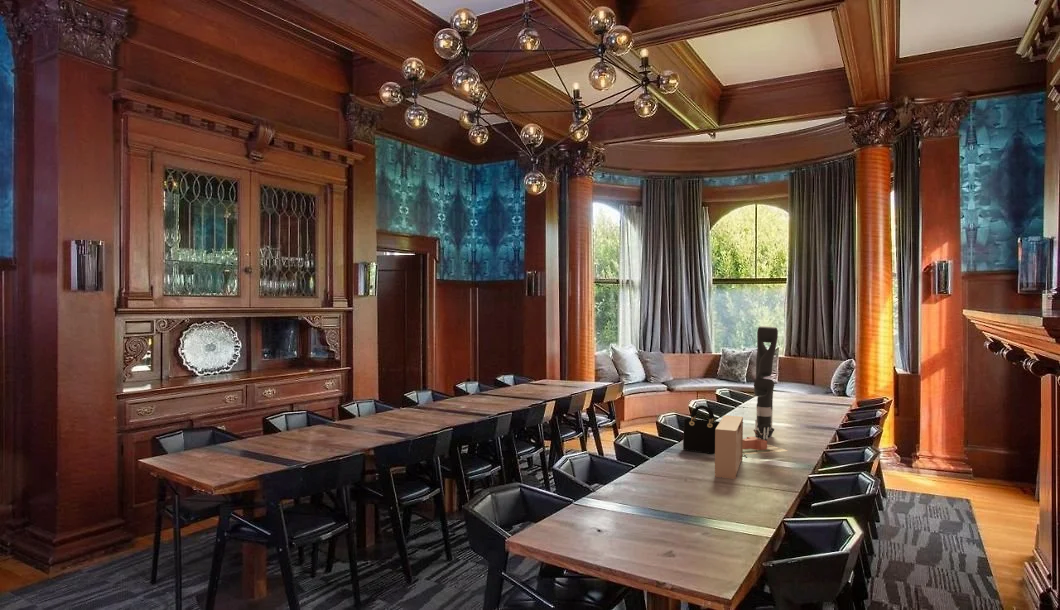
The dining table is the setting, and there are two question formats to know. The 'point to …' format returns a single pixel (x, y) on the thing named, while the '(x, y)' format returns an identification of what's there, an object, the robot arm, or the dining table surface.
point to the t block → (754, 443)
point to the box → (728, 446)
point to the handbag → (700, 432)
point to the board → (768, 450)
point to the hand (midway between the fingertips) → (764, 445)
